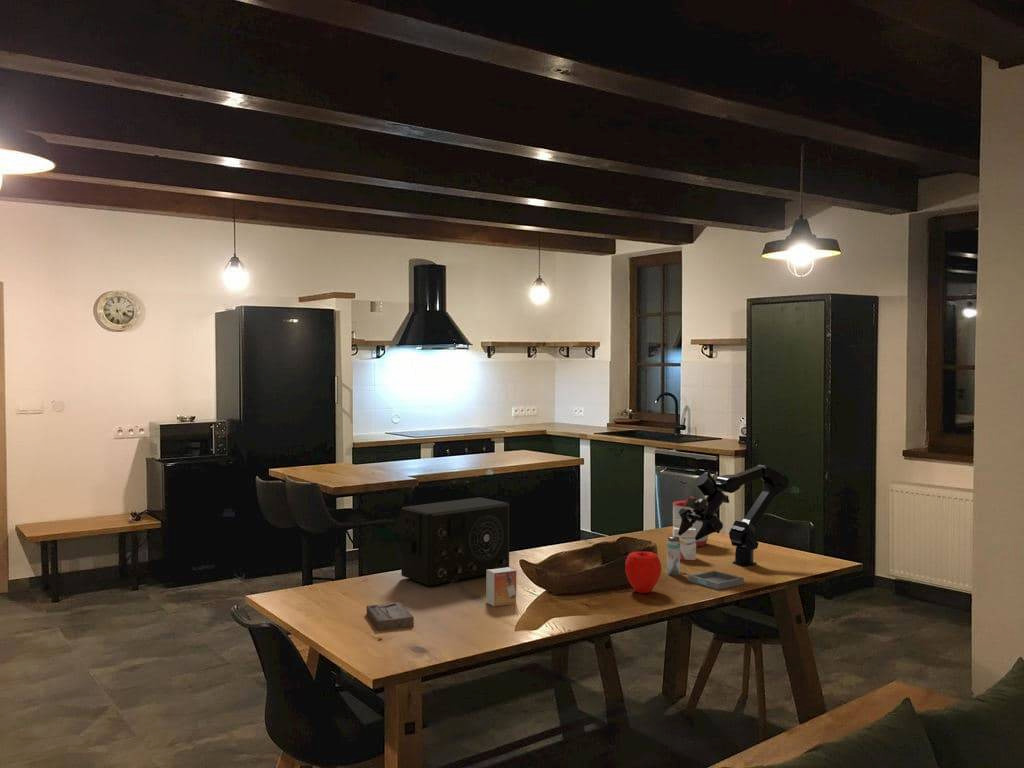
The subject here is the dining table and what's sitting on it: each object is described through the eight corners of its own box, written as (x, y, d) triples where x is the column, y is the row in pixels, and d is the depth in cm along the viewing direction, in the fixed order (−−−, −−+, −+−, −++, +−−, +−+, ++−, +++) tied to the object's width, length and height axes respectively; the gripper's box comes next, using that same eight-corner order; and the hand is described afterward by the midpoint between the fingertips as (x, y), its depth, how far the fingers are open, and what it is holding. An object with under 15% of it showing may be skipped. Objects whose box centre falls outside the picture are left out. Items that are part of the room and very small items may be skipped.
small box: (493, 607, 266) (493, 573, 265) (485, 602, 271) (485, 569, 270) (516, 603, 269) (516, 570, 269) (508, 599, 274) (508, 566, 274)
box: (377, 632, 242) (377, 621, 242) (365, 615, 259) (365, 605, 258) (415, 627, 246) (414, 617, 246) (401, 611, 262) (400, 601, 262)
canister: (673, 571, 311) (673, 535, 310) (683, 574, 307) (683, 537, 306) (663, 573, 308) (664, 537, 307) (673, 576, 304) (673, 539, 304)
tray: (714, 576, 304) (714, 570, 304) (743, 584, 293) (743, 577, 293) (687, 581, 297) (688, 575, 297) (717, 590, 286) (717, 583, 286)
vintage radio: (427, 591, 284) (427, 515, 283) (395, 580, 299) (395, 507, 298) (515, 573, 308) (515, 503, 307) (481, 563, 323) (481, 496, 322)
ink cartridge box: (673, 559, 330) (673, 521, 329) (672, 556, 334) (672, 518, 334) (696, 560, 329) (696, 521, 328) (694, 557, 334) (695, 519, 333)
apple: (653, 585, 291) (653, 546, 291) (667, 595, 280) (667, 553, 279) (619, 588, 288) (620, 547, 288) (633, 597, 277) (633, 555, 277)
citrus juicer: (719, 548, 350) (719, 498, 349) (676, 548, 349) (676, 498, 349) (709, 540, 365) (710, 492, 365) (668, 540, 365) (668, 493, 364)
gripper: (682, 486, 320) (658, 518, 315) (716, 493, 304) (691, 527, 299) (699, 505, 324) (675, 538, 319) (733, 513, 308) (709, 547, 303)
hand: (687, 537), depth 310 cm, fingers open, 9 cm apart
